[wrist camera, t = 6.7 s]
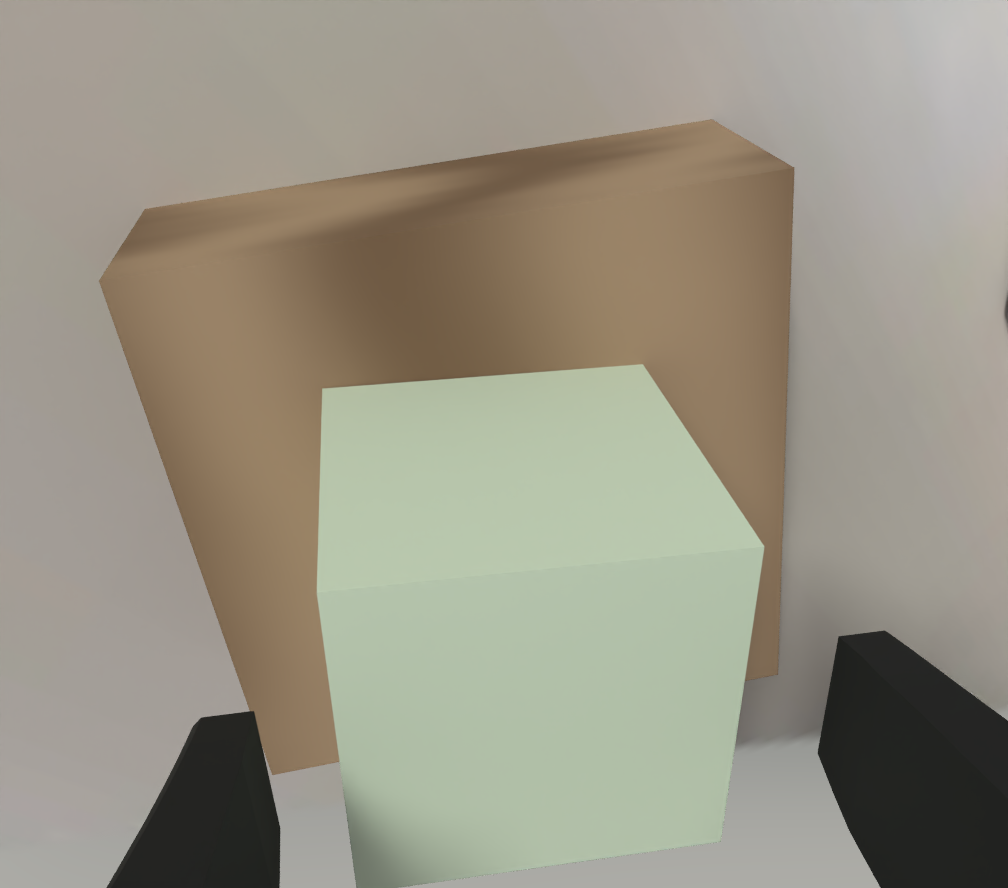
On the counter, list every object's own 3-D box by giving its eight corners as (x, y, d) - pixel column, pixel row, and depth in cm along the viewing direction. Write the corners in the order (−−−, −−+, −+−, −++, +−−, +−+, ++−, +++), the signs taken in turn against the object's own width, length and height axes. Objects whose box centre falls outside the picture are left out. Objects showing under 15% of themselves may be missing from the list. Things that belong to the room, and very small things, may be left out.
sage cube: (642, 364, 15) (764, 547, 11) (626, 613, 18) (720, 842, 13) (322, 389, 15) (317, 592, 10) (351, 643, 17) (357, 893, 13)
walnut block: (704, 115, 17) (793, 168, 14) (711, 555, 22) (777, 674, 19) (149, 202, 17) (99, 281, 13) (283, 636, 22) (272, 775, 18)
